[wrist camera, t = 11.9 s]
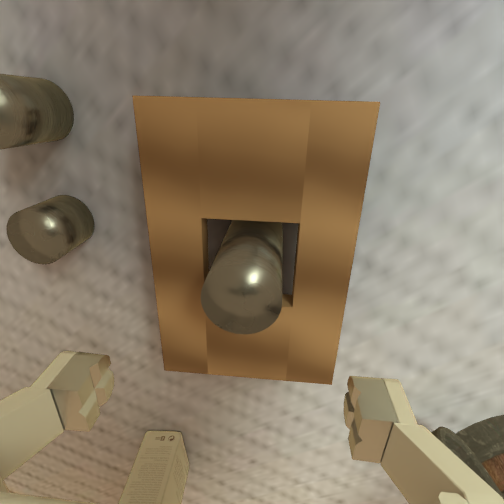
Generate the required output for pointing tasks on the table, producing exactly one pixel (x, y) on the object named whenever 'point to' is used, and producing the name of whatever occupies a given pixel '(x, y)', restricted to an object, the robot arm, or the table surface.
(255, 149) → the walnut bridge
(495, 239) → the table surface
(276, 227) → the tall steel pin
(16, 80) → the medium steel pin
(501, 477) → the tankard
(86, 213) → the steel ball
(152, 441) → the skincare box
